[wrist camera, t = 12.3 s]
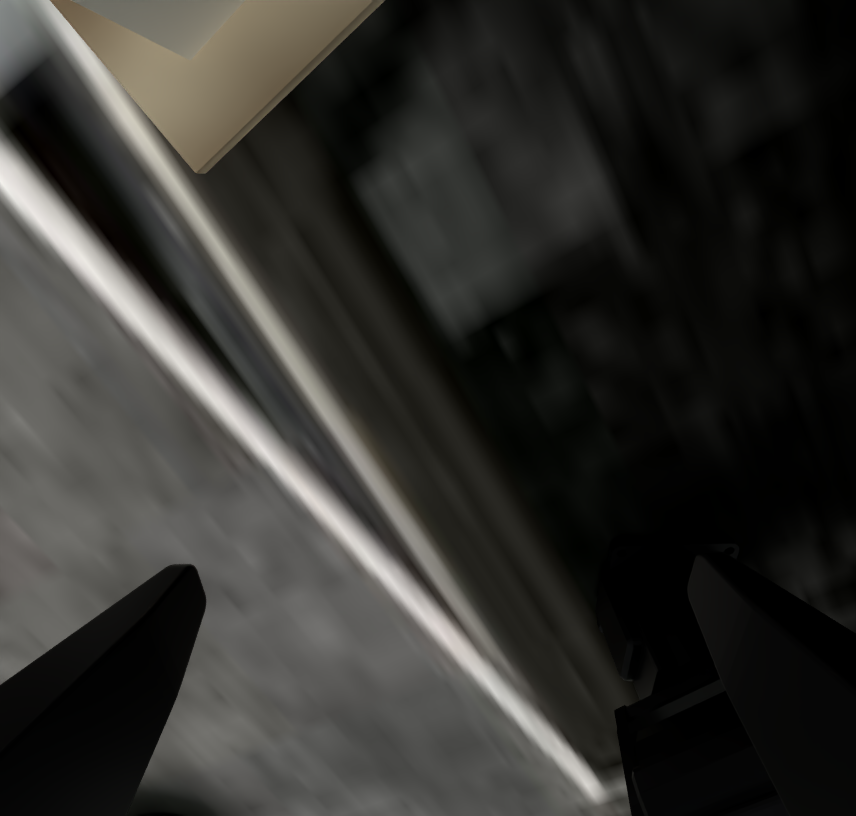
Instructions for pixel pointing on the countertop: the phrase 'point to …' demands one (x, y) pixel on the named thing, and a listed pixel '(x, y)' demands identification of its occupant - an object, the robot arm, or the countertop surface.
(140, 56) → the beige board with block
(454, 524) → the countertop surface
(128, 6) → the tall pale rectangular prism
